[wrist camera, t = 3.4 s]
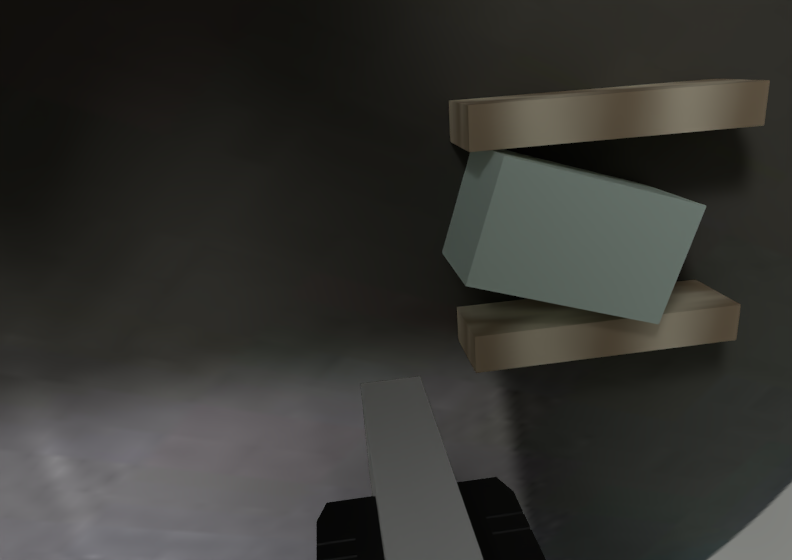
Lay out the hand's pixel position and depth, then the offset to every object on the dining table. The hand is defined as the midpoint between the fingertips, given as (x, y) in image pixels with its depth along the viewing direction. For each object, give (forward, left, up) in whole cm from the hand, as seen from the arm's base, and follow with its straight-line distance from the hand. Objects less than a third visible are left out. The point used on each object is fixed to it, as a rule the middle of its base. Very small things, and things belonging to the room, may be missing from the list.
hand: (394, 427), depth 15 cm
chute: (+12, 0, -17) cm, 21 cm away
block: (+10, 0, -18) cm, 21 cm away
